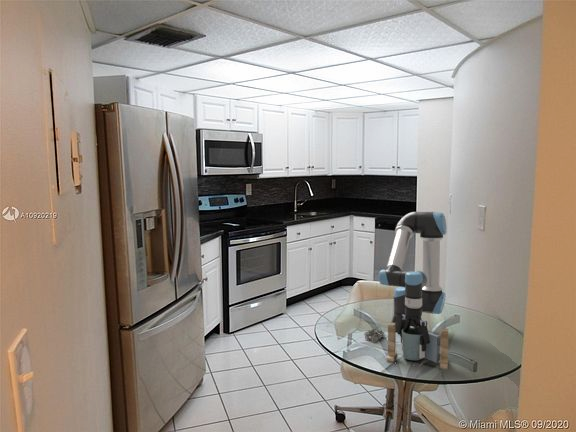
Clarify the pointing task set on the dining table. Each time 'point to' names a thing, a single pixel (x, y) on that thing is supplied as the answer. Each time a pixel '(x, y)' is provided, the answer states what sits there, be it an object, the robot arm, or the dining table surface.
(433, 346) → the door
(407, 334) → the grey blue cup
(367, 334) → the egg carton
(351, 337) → the dining table surface
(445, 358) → the door frame
